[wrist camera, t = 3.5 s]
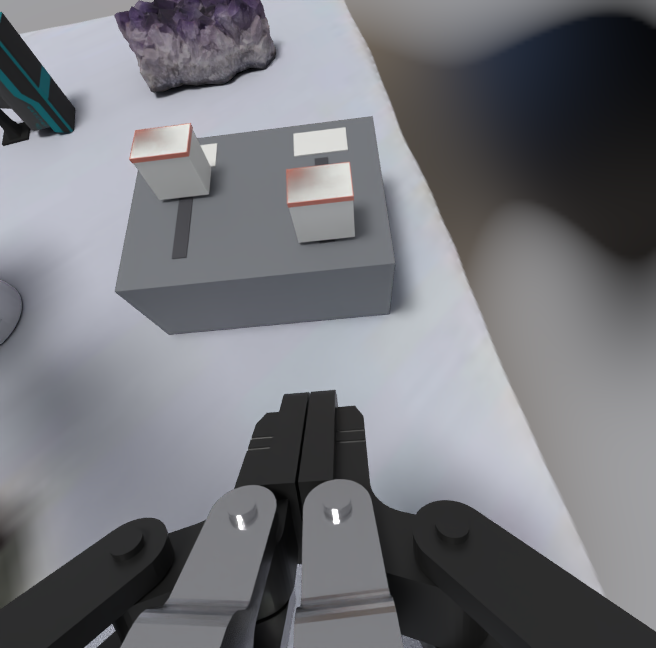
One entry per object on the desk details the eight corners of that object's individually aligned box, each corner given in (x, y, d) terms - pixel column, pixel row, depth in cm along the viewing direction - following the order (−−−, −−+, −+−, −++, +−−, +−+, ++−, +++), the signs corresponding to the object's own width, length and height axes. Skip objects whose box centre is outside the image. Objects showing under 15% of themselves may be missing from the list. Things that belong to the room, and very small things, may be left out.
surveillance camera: (-84, 30, 44) (2, 9, 44) (7, 123, 55) (75, 106, 55) (-95, 60, 41) (-4, 37, 41) (2, 151, 52) (74, 132, 52)
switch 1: (209, 194, 33) (186, 152, 29) (158, 200, 33) (129, 159, 29) (211, 167, 34) (190, 123, 30) (163, 173, 34) (135, 130, 30)
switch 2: (355, 237, 30) (353, 196, 25) (298, 243, 30) (286, 203, 26) (352, 205, 31) (349, 161, 27) (297, 211, 31) (286, 169, 27)
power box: (389, 314, 37) (395, 262, 29) (168, 334, 38) (113, 291, 30) (371, 187, 43) (372, 115, 35) (183, 208, 45) (142, 144, 37)
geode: (272, 27, 58) (258, -54, 49) (282, 86, 55) (269, 11, 45) (139, 48, 58) (99, -29, 48) (141, 108, 55) (98, 38, 45)
